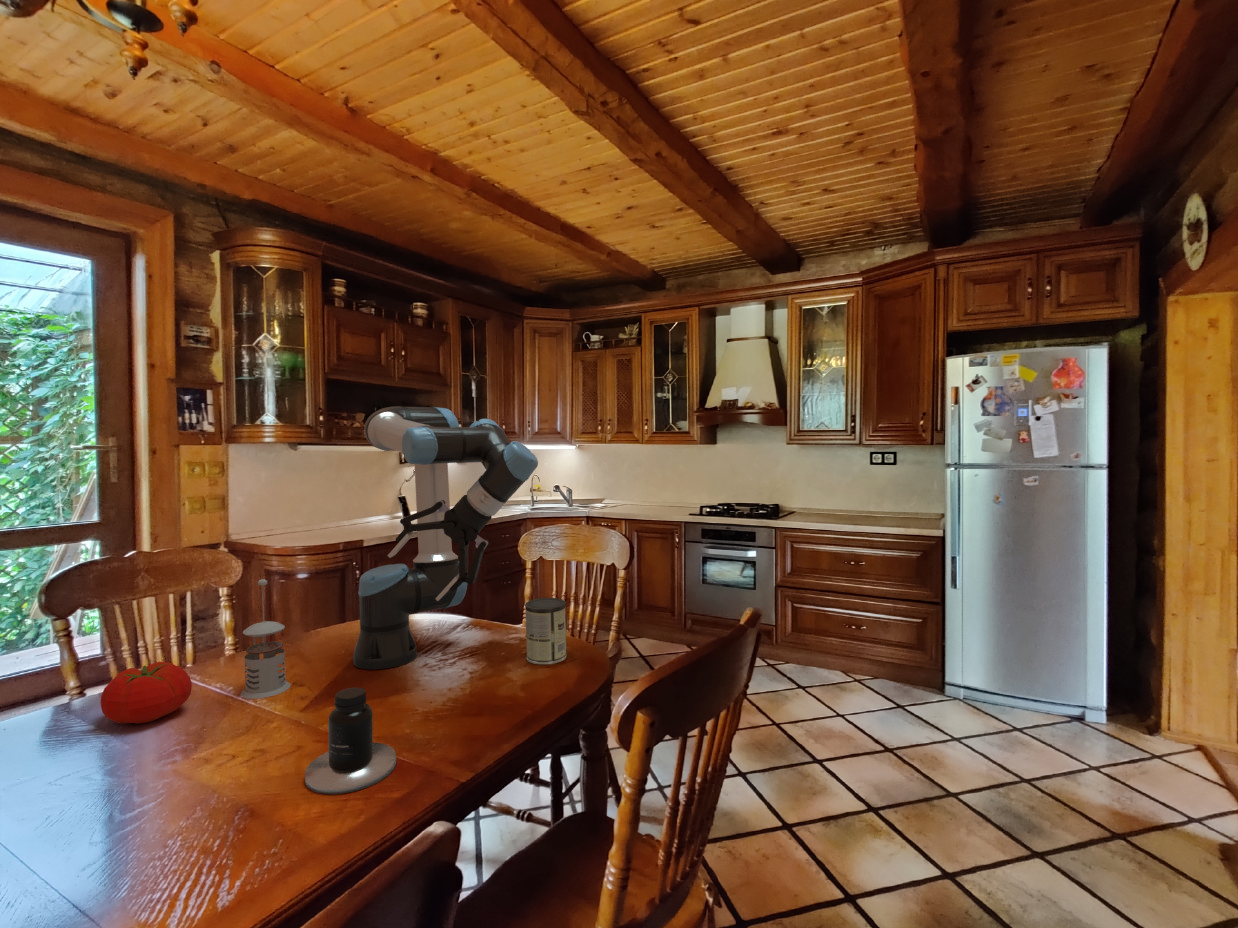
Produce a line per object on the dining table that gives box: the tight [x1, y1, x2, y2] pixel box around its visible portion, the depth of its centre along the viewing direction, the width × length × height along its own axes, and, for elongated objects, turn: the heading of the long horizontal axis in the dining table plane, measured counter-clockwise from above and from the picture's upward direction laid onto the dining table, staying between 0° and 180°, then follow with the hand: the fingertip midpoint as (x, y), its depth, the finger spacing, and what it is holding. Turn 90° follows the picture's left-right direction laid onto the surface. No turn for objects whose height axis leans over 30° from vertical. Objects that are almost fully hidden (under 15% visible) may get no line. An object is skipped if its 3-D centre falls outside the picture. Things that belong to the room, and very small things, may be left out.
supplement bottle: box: [327, 687, 374, 772], centre depth 101 cm, size 7×7×12 cm
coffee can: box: [524, 597, 567, 666], centre depth 153 cm, size 10×10×14 cm
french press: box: [240, 578, 291, 700], centre depth 136 cm, size 10×12×25 cm
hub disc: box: [304, 742, 397, 795], centre depth 102 cm, size 14×14×1 cm
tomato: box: [100, 661, 193, 724], centre depth 122 cm, size 14×16×10 cm
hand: (415, 576), depth 129 cm, fingers open, 13 cm apart
